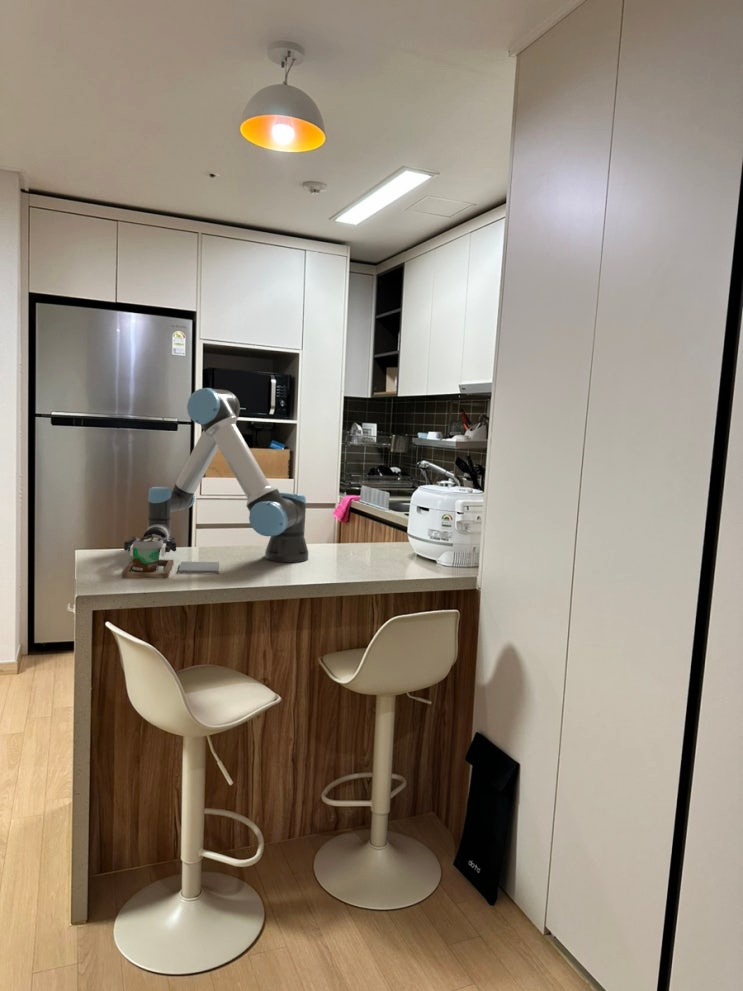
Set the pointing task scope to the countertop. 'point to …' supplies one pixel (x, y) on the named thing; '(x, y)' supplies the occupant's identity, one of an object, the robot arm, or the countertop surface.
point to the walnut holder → (165, 574)
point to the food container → (146, 554)
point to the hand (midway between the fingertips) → (147, 551)
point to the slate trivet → (199, 567)
